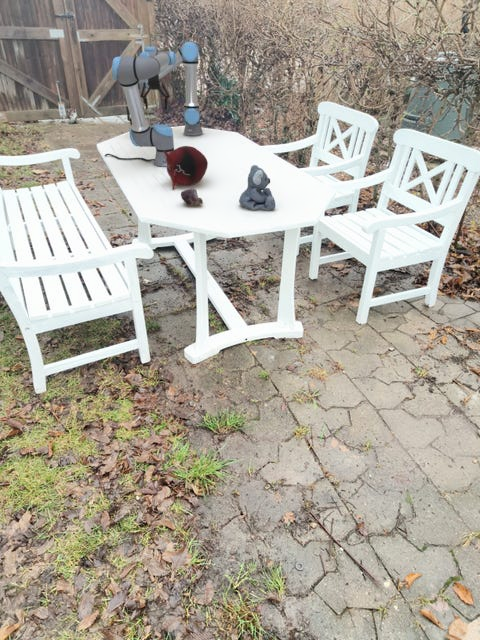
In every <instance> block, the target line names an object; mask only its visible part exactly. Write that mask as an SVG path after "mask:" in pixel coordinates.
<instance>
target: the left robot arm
mask: <svg viewBox="0 0 480 640" xmlns="http://www.w3.org/2000/svg"><path fill="white" fill-rule="evenodd" d="M143 48H144V51H142V52H140V54H139V56H123V55H121V56H116V57H114V58H113V60H112V64H111V73H112V78H113V79H114V80H115V81H116V82H117V81H118V85H119V86H120V87H121V88H122V90H123V93H124V97H125V100H126V101H125V102H126V104H127V106H128V109H129V112H130V117H131V120H132V125H130V128H129V139H130V141H131V144H133V146H135V147H140V148H142V147H145V148H146V147H147V148H155V155H154V158H152V159H151V158H150V159H146V158H143V157H127V158H125V157H119V156H117V155H115V154H112V153H105V154H104V157H107V156H111V157H113V158H115V159H118V160H127V161H131V160H133V161H134V160H143V161H145V162H154V165H155V166H157V167H163V168H164V167H165V168H167V159H166V158H167V157H166V155H165V153H164V152H163V150H165V151H166V152H167V153H168V154H169V153H170V152H171V151H173V150H175V143H174V132H173V129H172V127H171V126H169V125H167V124H162V123H161V124H157V123H156V124H154V125H153V126H150V123H149V122H148V121H147V119H146V113H145V110H148V109H149V106H148V105H149V104H148V98H147V96H148V95H149V93H150V91H151V90H152V91H153V90H155V91H158V92H159V93H160V94H161V95H162V96H163V98H164V99H163V101H164V102H163V103H164V109H165V110H168V104H169V98H170V97H171V95H170V92H169V91H168V89H167V87H166V84H165V82H164V81H161V82H160V79H159V75H158V73H159V72H160V70H161V69H163V68H164V67H166V66H168V65H170V66H171V65H175V63H176V56H175V53H176V52H174V51H171V50H168V51H157V48H156V46H145V47H143ZM146 79H148V83H147V82H144V83H143V89H141V92H140V89H138V85H137V84H138V83H139V80H146ZM147 84H148V86H149V88H148V89H145V88H146V86H147ZM160 86H161V87H160ZM142 99H143V102H142ZM143 104H144V106H145V109H144V110H143V107H144V106H143Z"/></svg>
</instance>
